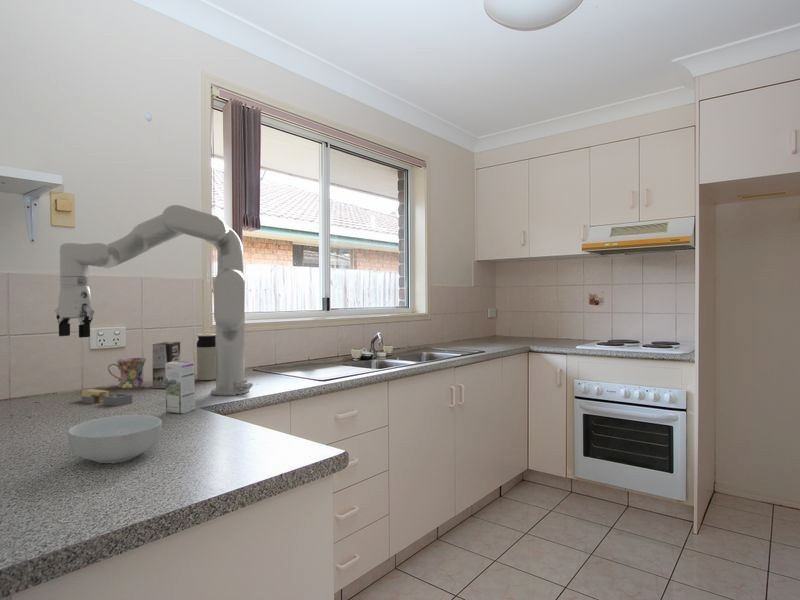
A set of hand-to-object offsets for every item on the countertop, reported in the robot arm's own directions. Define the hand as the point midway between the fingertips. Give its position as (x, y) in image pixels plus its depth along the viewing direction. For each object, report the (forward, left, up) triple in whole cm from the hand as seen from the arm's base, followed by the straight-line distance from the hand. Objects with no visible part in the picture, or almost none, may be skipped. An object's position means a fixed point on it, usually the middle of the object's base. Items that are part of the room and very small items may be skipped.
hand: (74, 336), depth 155 cm
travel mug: (-8, -48, -21) cm, 53 cm away
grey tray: (-16, 0, -21) cm, 26 cm away
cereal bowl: (-61, +31, -21) cm, 72 cm away
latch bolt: (-10, 0, -19) cm, 22 cm away
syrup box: (-41, -4, -21) cm, 46 cm away
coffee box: (-5, -31, -21) cm, 37 cm away
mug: (+3, -21, -21) cm, 29 cm away
